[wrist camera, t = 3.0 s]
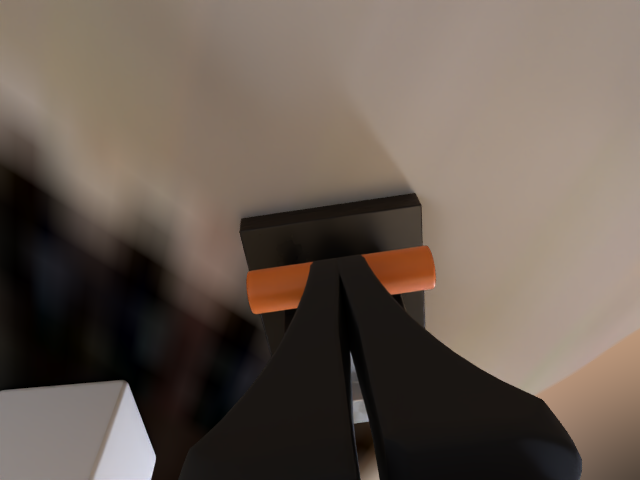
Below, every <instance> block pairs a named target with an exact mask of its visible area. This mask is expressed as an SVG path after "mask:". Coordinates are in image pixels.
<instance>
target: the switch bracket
mask: <svg viewBox="0 0 640 480" xmlns="http://www.w3.org/2000/svg"><path fill="white" fill-rule="evenodd" d="M239 233H240V237H241V241H242V244H243V248H244V252H245V256H246V260H247V264H248V268H249V271H252V270H259V269H266V268H273V267H280V266H287V265H294V264H301V263H308V262H314V261H319V260H326V259H332V258H339V257H346V256H353V255H363V254H370V253H377V252H384V251H391V250H398V249H405V248H411V247H418V246H423V241H422V208H421V203H420V201H419V199H418V197H417V195H416V194H415V193H412V194H405V195H398V196H391V197H385V198H378V199H371V200H364V201H357V202H351V203H344V204H337V205H330V206H323V207H317V208H310V209H303V210H296V211H289V212H283V213H276V214H269V215H262V216H255V217H249V218H242V219H241V224H240V231H239ZM392 296H393V298H394V299H395V300H396V301H397V302H398V303H399V304H400V305H401V306H402V308H403V309H404V310H405V311H406V312H407V313H408V314H409V315H410V316H411V317H412V318H413V319H415V320H416V321H417V322H418V323H419V324H420V325H421V326H422V327H423V328H424V329H425V307H424V290H421V291H414V292H407V293H400V294H393V295H392ZM296 310H297V308H295V309H288V310H281V311H274V312H267V313H260V314H261V318H262V322H263V326H264V330H265V334H266V338H267V342H268V345H269V349H270V353H271V357H272V356H273V354H274V352H275V351H276V349H277V347H278V346H279V344H280V342H281V340H282V339H283V337H284V335H285V333H286V331H287V329H288V327H289V325H290V323H291V321H292V319H293V317H294V314H295V312H296Z"/></svg>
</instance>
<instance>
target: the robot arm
mask: <svg viewBox="0 0 640 480" xmlns="http://www.w3.org/2000/svg"><path fill="white" fill-rule="evenodd" d="M350 352H351V354H350ZM351 355H352V359H353V363H354V367H355V371H356V374H357V378H358V382H359V386H360V389H361V393H362V397H363V401H364V404H365V408H366V412H367V416H368V419H369V423H370V428H371V432H372V437H373V442H374V448H375V454H376V460H377V466H378V472H379V478H380V480H580V476H581V472H582V459H581V457H580V455H579V453H578V450H577V448H576V446H575V444H574V442H573V441H572V439H571V437H570V436H569V434H568V433H567V431H566V430H565V428H564V427H563V426H562V424H561V423H560V421H559V420H558V419H557V418H556V416H555V415H554V414H553V412H552V411H551V410H550V408H549V407H548V406H547V405H546V403H545V402H544V401H543V400H542V399H540V398H538V397H536V396H534V395H531V394H529V393H527V392H525V391H523V390H521V389H518V388H516V387H514V386H512V385H510V384H508V383H505V382H503V381H501V380H499V379H498V378H496V377H494V376H492V375H490V374H489V373H487V372H485V371H483V370H481V369H480V368H478V367H476V366H475V365H473V364H472V363H470V362H469V361H467V360H466V359H464V358H463V357H461V356H459V355H458V354H456V353H455V352H453V351H452V350H451V349H449V348H448V347H447V346H445V345H444V344H443V343H441V342H440V341H439V340H438V339H436V338H435V337H434V336H433V335H431V334H430V333H429V332H428V331H427V330H425V329H424V328H423V327H422V326H421V325H420V324H419V323H418V322H417V321H416V320H415V319H413V318H412V317H411V316H410V315H409V314H408V313H407V312H406V311H405V310H404V309H403V308H402V306H401V305H400V304H399V303H398V302H397V301H396V300H395V299H394V298H393V296H392V295H391V294H390V293H389V292H388V291H387V290H386V288H385V287H384V286H383V285H382V283H381V282H380V281H379V279H378V278H377V277H376V275H375V274H374V273H373V271H372V270H371V268H370V267H369V265H368V263H367V261H366V260H365V258H364V257H363V256H362V255H353V256H346V257H339V258H332V259H326V260H319V261H314V262H313V263H312V264H311V265H310V270H309V275H308V279H307V282H306V286H305V289H304V292H303V295H302V297H301V300H300V302H299V305H298V307H297V310H296V312H295V314H294V317H293V319H292V321H291V323H290V325H289V327H288V329H287V331H286V333H285V335H284V337H283V339H282V340H281V342H280V344H279V346H278V347H277V349H276V351H275V352H274V354H273V356H272V357H271V359H270V360H269V362H268V363H267V365H266V366H265V368H264V369H263V370H262V372H261V373H260V375H259V376H258V377H257V379H256V380H255V382H254V383H253V384H252V385H251V387H250V388H249V389H248V391H247V392H246V393H245V394H244V395H243V396H242V398H241V399H240V400H239V401H238V402H237V403H236V404H235V405H234V407H233V408H232V409H231V410H230V411H229V412H228V413H227V415H226V416H225V417H224V418H223V419H222V420H221V421H220V422H219V423H218V424H217V425H216V426H215V427H214V428H213V429H211V430H210V431H209V432H208V433H207V434H206V435H205V436H204V437H203V438H202V439H201V440H200V441H199V442H197V443H196V444H195V445H194V446H193V447H192V448H191V449H190V450H189V452H188V454H187V457H186V459H185V462H184V465H183V468H182V470H181V474H180V477H179V480H361V479H360V472H359V465H358V458H357V451H356V444H355V433H354V419H353V397H352V375H351Z"/></svg>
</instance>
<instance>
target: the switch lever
mask: <svg viewBox="0 0 640 480" xmlns="http://www.w3.org/2000/svg"><path fill="white" fill-rule="evenodd" d="M362 256H363V257H364V258H365V260H366V261H367V263H368V265H369V267H370V268H371V270H372V271H373V273H374V274H375V275H376V277H377V278H378V279H379V281H380V282H381V283H382V285H383V286H384V287H385V288H386V290H387V291H388V292H389V293H390V294H391V295H393V294H400V293H407V292H414V291H421V290H428V289H433V288H434V287H435V283H436V273H435V266H434V261H433V257H432V253H431V251H430V249H429V247H428V246H418V247H411V248H405V249H398V250H391V251H384V252H377V253H370V254H363V255H362ZM312 263H313V262H308V263H301V264H294V265H287V266H280V267H273V268H266V269H259V270H252V271H249V272H248V274H247V280H246V284H247V295H248V301H249V305H250V308H251V310H252V312H253V313H254V314H260V313H267V312H274V311H281V310H288V309H295V308H297V307H298V305H299V302H300V300H301V297H302V295H303V292H304V289H305V286H306V282H307V279H308V275H309V270H310V265H311V264H312ZM350 354H351V352H350ZM351 375H352V397H353V419H354V423H360V422H367V421H369V419H368V416H367V412H366V408H365V404H364V401H363V397H362V393H361V389H360V386H359V382H358V378H357V374H356V371H355V367H354V363H353V359H352V355H351Z"/></svg>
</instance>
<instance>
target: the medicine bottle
mask: <svg viewBox="0 0 640 480" xmlns="http://www.w3.org/2000/svg"><path fill="white" fill-rule="evenodd" d="M155 461H156V456H155V453H154V450H153V448H152V445H151V442H150V440H149V437H148V434H147V432H146V429H145V426H144V424H143V421H142V418H141V416H140V413H139V410H138V408H137V405H136V403H135V400H134V397H133V395H132V392H131V389H130V387H129V384H128V383H127V381H125V380H115V381H104V382H92V383H81V384H69V385H57V386H46V387H34V388H23V389H11V390H2V391H0V480H151V477H152V473H153V469H154V465H155Z"/></svg>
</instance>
